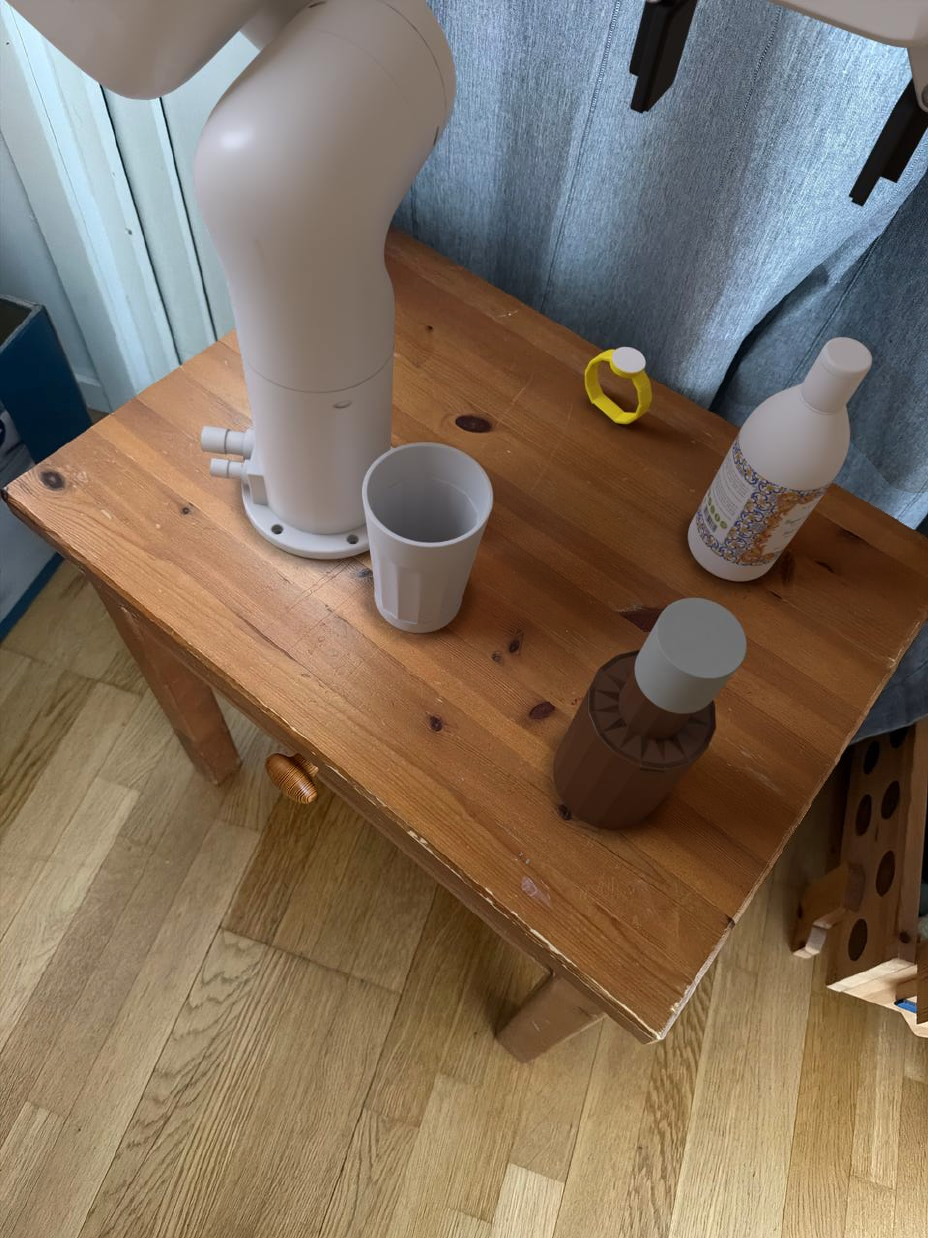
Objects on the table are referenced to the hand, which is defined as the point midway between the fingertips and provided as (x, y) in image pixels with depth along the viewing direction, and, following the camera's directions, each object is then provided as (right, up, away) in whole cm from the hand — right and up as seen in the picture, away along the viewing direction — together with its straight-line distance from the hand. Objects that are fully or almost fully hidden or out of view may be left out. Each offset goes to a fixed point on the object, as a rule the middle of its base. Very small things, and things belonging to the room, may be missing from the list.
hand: (755, 141), depth 37 cm
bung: (-1, -23, +11) cm, 26 cm away
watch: (0, -2, +39) cm, 39 cm away
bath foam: (+9, -14, +33) cm, 37 cm away
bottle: (-3, -30, +22) cm, 37 cm away
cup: (-15, -18, +28) cm, 37 cm away
